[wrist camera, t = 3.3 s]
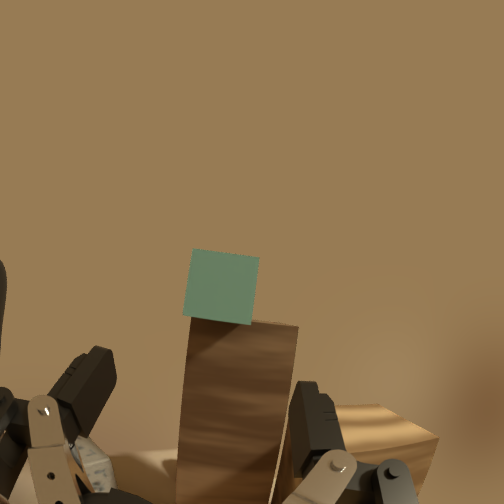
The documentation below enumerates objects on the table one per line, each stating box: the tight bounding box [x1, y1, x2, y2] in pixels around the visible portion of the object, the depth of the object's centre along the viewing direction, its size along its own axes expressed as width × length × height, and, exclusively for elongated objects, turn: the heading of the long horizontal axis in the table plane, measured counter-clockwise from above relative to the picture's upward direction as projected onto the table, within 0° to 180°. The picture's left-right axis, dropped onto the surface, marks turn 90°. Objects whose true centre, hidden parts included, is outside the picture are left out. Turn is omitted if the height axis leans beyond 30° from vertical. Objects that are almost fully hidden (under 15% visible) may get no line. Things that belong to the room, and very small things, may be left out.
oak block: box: [271, 404, 439, 504], centre depth 22 cm, size 14×12×22 cm
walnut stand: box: [175, 317, 299, 504], centre depth 28 cm, size 12×10×32 cm
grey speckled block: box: [76, 435, 118, 493], centre depth 25 cm, size 10×8×10 cm
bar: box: [183, 249, 259, 325], centre depth 29 cm, size 26×4×4 cm, turn 3°
